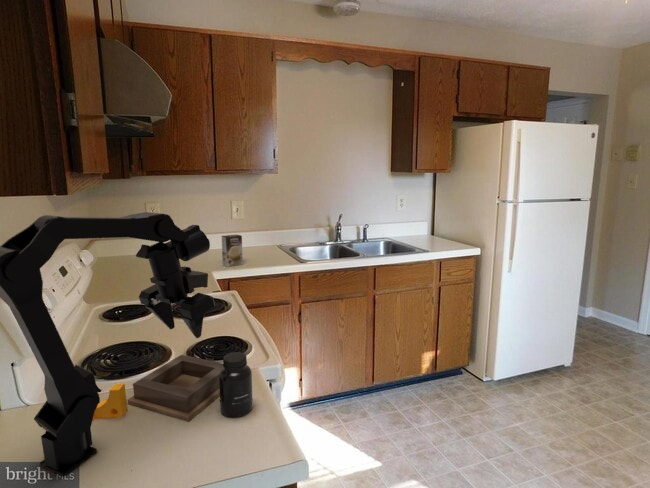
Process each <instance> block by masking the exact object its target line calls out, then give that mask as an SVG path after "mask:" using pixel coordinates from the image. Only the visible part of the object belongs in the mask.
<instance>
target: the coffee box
mask: <svg viewBox="0 0 650 488" xmlns="http://www.w3.org/2000/svg"><path fill="white" fill-rule="evenodd" d="M221 252H222V253H221V255H222V266H224V267H227V268H229V267H235V266H241V265H244V261H243V235H241V234H225V235H221Z"/></svg>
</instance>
